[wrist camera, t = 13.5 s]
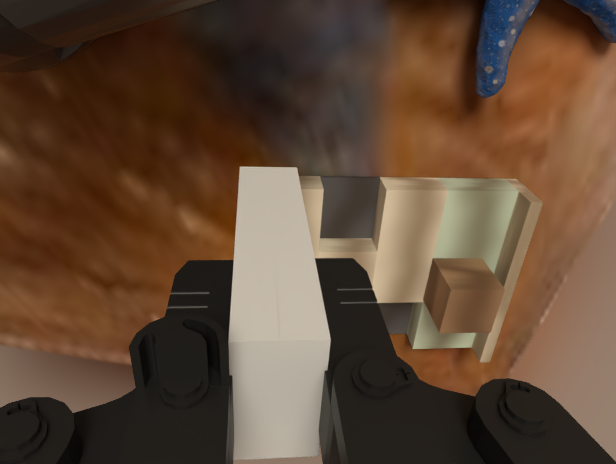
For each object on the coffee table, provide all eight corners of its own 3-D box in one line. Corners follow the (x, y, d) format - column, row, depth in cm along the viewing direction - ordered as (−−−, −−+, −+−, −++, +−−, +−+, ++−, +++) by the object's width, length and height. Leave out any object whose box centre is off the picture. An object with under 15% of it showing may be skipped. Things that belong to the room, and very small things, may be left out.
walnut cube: (422, 299, 44) (439, 333, 40) (432, 258, 42) (451, 289, 38) (470, 299, 44) (490, 332, 41) (482, 258, 42) (505, 289, 38)
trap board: (247, 335, 47) (246, 369, 43) (246, 175, 39) (245, 200, 35) (471, 329, 50) (489, 362, 46) (516, 178, 41) (543, 202, 38)
